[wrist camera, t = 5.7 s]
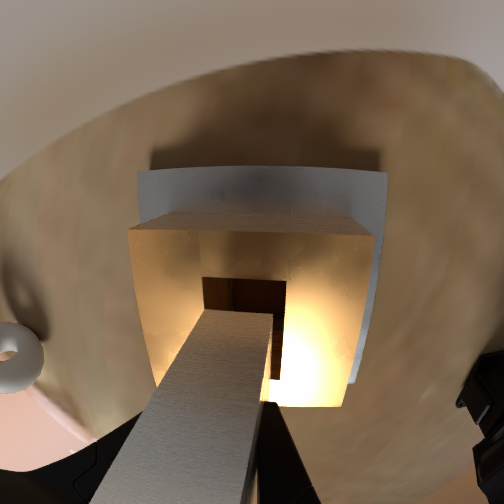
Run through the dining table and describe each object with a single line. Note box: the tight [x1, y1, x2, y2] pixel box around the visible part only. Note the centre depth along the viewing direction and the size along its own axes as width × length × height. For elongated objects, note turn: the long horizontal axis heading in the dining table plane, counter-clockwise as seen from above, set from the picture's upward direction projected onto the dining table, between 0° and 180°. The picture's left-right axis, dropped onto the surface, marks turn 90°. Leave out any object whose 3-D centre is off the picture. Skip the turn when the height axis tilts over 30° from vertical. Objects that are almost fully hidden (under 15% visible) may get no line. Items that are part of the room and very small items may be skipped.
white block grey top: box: [89, 309, 273, 504], centre depth 6 cm, size 2×4×9 cm, turn 0°
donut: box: [0, 322, 44, 394], centre depth 19 cm, size 10×3×10 cm, turn 77°
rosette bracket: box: [127, 166, 388, 407], centre depth 15 cm, size 14×15×6 cm
